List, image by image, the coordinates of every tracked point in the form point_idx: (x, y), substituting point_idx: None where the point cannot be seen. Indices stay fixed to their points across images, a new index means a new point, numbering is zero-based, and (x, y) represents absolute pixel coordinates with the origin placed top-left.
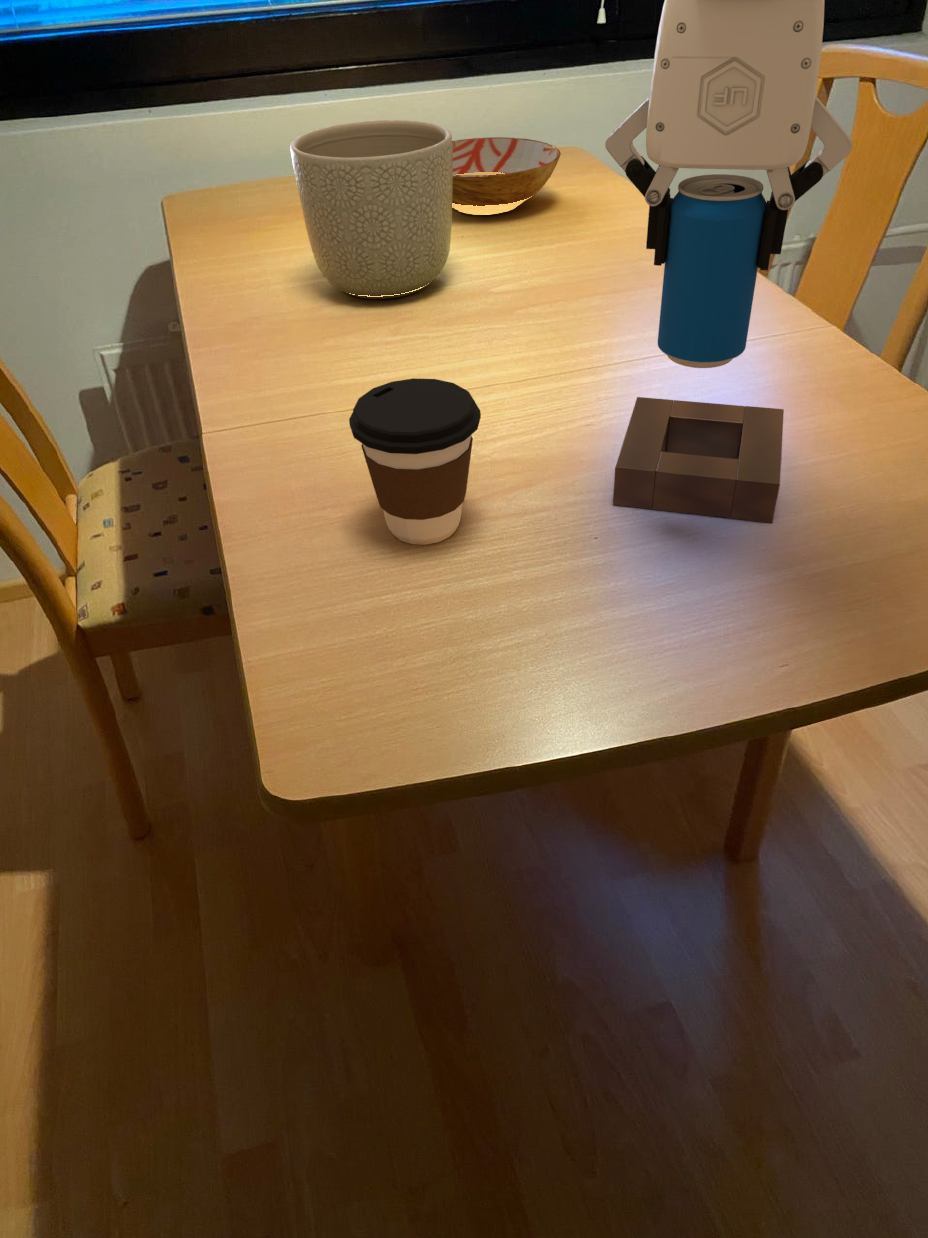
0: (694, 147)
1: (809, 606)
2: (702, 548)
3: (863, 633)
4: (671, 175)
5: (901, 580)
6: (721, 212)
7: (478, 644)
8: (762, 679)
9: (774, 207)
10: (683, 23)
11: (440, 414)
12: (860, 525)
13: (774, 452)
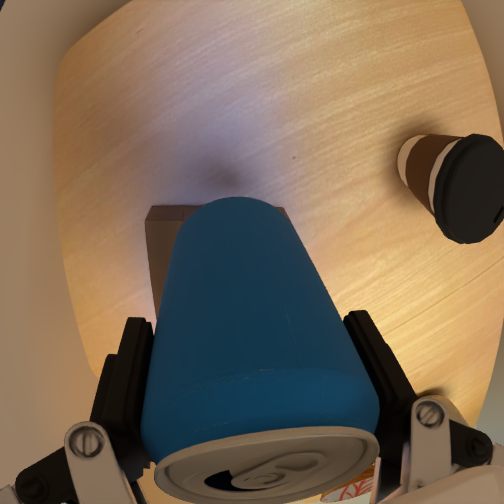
0: None
1: (119, 102)
2: (204, 158)
3: (85, 83)
4: (417, 466)
5: (62, 155)
6: (260, 394)
7: (363, 24)
8: (155, 13)
9: (118, 434)
10: None
11: (470, 177)
12: (91, 218)
13: (155, 269)
